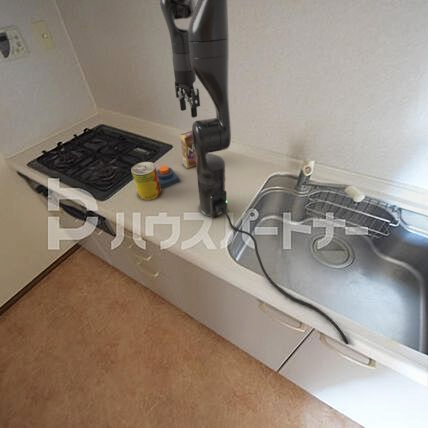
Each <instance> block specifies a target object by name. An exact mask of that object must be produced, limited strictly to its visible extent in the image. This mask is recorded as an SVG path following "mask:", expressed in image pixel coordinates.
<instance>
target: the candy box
mask: <svg viewBox="0 0 428 428" xmlns="http://www.w3.org/2000/svg"><path fill="white" fill-rule="evenodd" d="M179 136H180V145H181V154H182V163H183V166H184V167H185V168H186V169H190V168H192V167H194V166H195V167H196V158H195V149H194V143H193V136H192V130H190V131H187V132H184V133H180V134H179Z"/></svg>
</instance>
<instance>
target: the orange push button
mask: <svg viewBox="0 0 428 428" xmlns="http://www.w3.org/2000/svg"><path fill="white" fill-rule="evenodd" d="M156 171H157V175H158V179H159V183H160V188H161V189H165V188H167V187H170V186H172V185H174V184H177V183H180V177H179V176H178V174H176V173H175V172H174V170H173V169H172V167H169V173H168V174H166V175H161V174H160V171H159V168H158V169H156Z"/></svg>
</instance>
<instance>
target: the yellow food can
mask: <svg viewBox="0 0 428 428" xmlns="http://www.w3.org/2000/svg"><path fill="white" fill-rule="evenodd" d="M130 170H131V171H130V172H131V174H132V178H133V180H134V184H135V187H136V190H137V193H138V196H139V198H140V199H142V200H144V201H151V200H155V199H157V198H159V196H160V195H161V194H162V187H161V186H160V183H159V179H158V175H157V167H156V164H155V163H154V162H152V161H148V160H147V161H145V160H143V161H140V162H137V163H135V164H134V165H133V166H132V167H131V168H130Z"/></svg>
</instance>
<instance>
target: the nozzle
mask: <svg viewBox="0 0 428 428" xmlns="http://www.w3.org/2000/svg"><path fill="white" fill-rule="evenodd" d="M169 168H170V166H168V165H162V166H160V167H158V169H159V171H160V174H161V175H166V174H168V173H169Z"/></svg>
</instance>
